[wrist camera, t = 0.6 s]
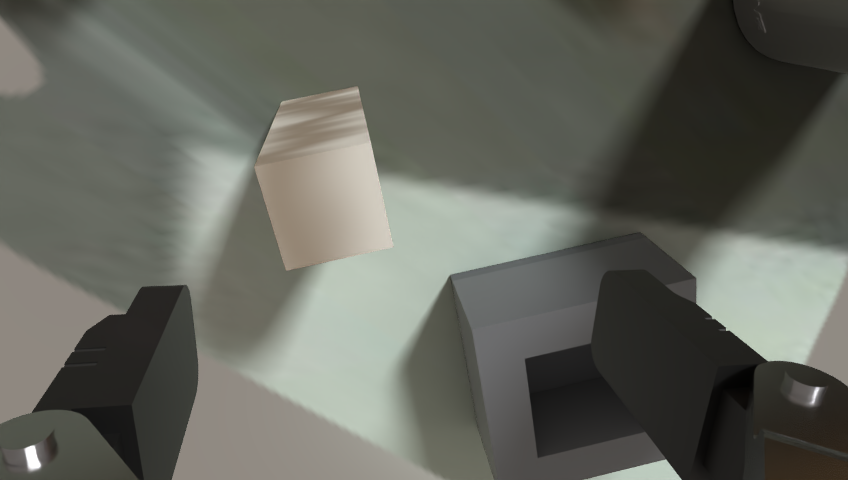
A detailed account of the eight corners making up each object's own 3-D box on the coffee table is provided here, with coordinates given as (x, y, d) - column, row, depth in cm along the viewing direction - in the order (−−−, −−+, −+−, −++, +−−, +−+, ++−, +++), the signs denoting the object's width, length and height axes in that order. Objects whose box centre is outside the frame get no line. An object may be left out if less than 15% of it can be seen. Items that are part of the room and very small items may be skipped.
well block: (640, 232, 37) (696, 278, 32) (645, 387, 42) (694, 452, 36) (450, 274, 37) (471, 329, 31) (477, 428, 42) (501, 499, 36)
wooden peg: (357, 86, 32) (370, 142, 21) (373, 159, 33) (393, 247, 22) (281, 101, 31) (253, 166, 20) (301, 174, 33) (285, 270, 22)
